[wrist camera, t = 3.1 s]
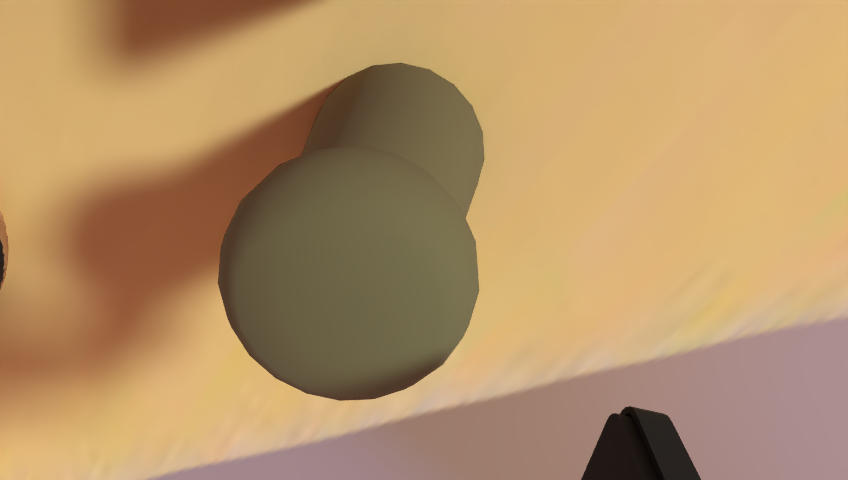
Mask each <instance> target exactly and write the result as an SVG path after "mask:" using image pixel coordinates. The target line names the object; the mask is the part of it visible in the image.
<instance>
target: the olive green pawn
mask: <svg viewBox="0 0 848 480" xmlns="http://www.w3.org/2000/svg"><path fill="white" fill-rule="evenodd" d="M483 162H484V147H483V132H482V129H481V127H480V124H479V122H478V119H477V117H476V114H475V112H474V109H473V107H472V106H471V104H470V103H469V102H468V101H467V100H466V98H465V97H464V96H463V95H462V94H461V93H460V91H459V90H458V89H457V88H456V87H455V85H454V84H452V83H450V82H449V81H447V80H445V79H444V78H442V77H441V76H439V75H437V74H436V73H434V72H432V71H431V70H429V69H425V68H420V67H416V66H412V65H408V64H403V63H396V64H385V65H374V66H371V67H369V68H366V69H364V70H362V71H360V72H358V73H355V74H353V75H351V76H349V77H347V78H346V79H345V80H344V81H343V82H342V83H341V84H340V85H339V86H337V87H336V88H335V89H334V90H333V91H332V92H331V93H330V94H329V95H328V96H327V98H326V100H325V102H324V104H323V106H322V108H321V110H320V112H319V114H318V116H317V117H316V119H315V122H314V124H313V127H312V129H311V132H310V134H309V137H308V139H307V142H306V144H305V147H304V149H303V152H302V154H301V156H299V157H297V158H295V159H292V160H290V161H288V162H285V163H283V164H281V165H278V166H277V167H276V168H275V169H274V170H273V171H272V172H271V173H270V174H269V175H268V176H267V177H266V178H265V179H264V180H262V181H261V182H260V183H259V184H258V185H257V186H256V187H255V188H254V189H253V190H252V191H251V192H250V193H249V194H248V195H246V196H245V197H244V198H243V199H242V200H241V202H240V204H239V206H238V208H237V210H236V212H235V214H234V216H233V218H232V220H231V222H230V224H229V226H228V229H227V231H226V233H225V235H224V239H223V242H222V246H221V254H220V266H219V278H218V285H219V288H220V292H221V296H222V300H223V303H224V307H225V311H226V315H227V318H228V320H229V323H230V325H231V327H232V329H233V330H234V332H235V334H236V335H237V337H238V338H239V340H240V341H241V343H242V344H243V346H244V347H245V349H246V351H247V352H248V354H249V355H250V356H251V357H252V358H253V359H254V360H255V361H257V362H258V363H259V364H260V365H261V366H262V367H263V368H265V369H266V370H267V371H268V372H269V373H270V374H271V375H273V376H274V377H275V378H276V379H279V380H281V381H283V382H285V383H287V384H289V385H291V386H293V387H295V388H297V389H299V390H301V391H303V392H305V393H307V394H312V395H317V396H321V397H326V398H331V399H335V400H364V399H376V398H379V397H382V396H385V395H388V394H391V393H394V392H397V391H401V390H404V389H406V388H408V387H410V386H412V385H414V384H415V383H417V382H418V381H420V380H421V379H423V378H424V377H425V376H427V375H428V374H430V373H431V372H433V371H434V370H436V369H437V368H438V367H440V366H441V365H443V364H444V362H445V361H446V360H447V358H448V357H449V355H450V354H451V353H452V351H453V350H454V349H455V347H456V346H457V345H458V343H459V342H460V341H461V339H462V338H463V336H464V334H465V332H466V330H467V328H468V326H469V323H470V320H471V316H472V313H473V310H474V306H475V303H476V299H477V296H478V293H479V282H478V267H477V253H476V242H475V239H474V237H473V235H472V232H471V230H470V228H469V225H468V223H467V221H466V219H465V218H466V215H467V212H468V209H469V207H470V204H471V201H472V198H473V195H474V193H475V190H476V187H477V184H478V180H479V177H480V173H481V169H482V166H483Z"/></svg>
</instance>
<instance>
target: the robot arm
mask: <svg viewBox="0 0 848 480" xmlns="http://www.w3.org/2000/svg"><path fill="white" fill-rule="evenodd" d="M581 480H701V479H700V477H699V475H698V473H697V471H696V469H695V467H694V465H693V463H692V461H691V459H690V457H689V455H688V453H687V451H686V449H685V447H684V445H683V443H682V441H681V439H680V437H679V435H678V433H677V431H676V429H675V427H674V425H673V423H672V422H671V420H670V418H669V417H668V416H667V415H665V414H662V413H658V412H653V411H649V410H643V409H639V408H635V407H630V406H629V407H625V408H624V409H623V410H622V412H621V413H620V414H616V413H614V414H611V415H610V416H609V418H608V420H607V422H606V424H605V426H604V428H603V431H602V433H601V436H600V438H599V440H598V442H597V445H596V447H595V449H594V451H593V454H592V456H591V458H590V461H589V463H588V465H587V468H586V470H585V472H584V475H583V477H582V479H581Z"/></svg>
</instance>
